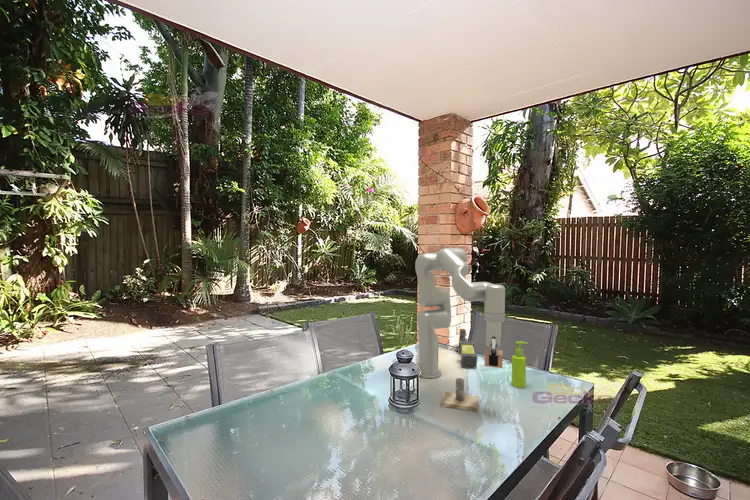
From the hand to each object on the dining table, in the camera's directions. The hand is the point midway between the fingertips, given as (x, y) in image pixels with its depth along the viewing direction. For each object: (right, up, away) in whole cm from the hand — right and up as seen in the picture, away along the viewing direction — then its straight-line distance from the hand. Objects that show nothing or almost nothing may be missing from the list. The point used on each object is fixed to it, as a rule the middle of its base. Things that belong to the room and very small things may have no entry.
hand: (493, 362), depth 137 cm
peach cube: (0, -1, 0) cm, 1 cm away
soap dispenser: (+20, -19, +25) cm, 37 cm away
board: (-12, -18, +6) cm, 23 cm away
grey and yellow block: (+5, -18, +62) cm, 65 cm away
